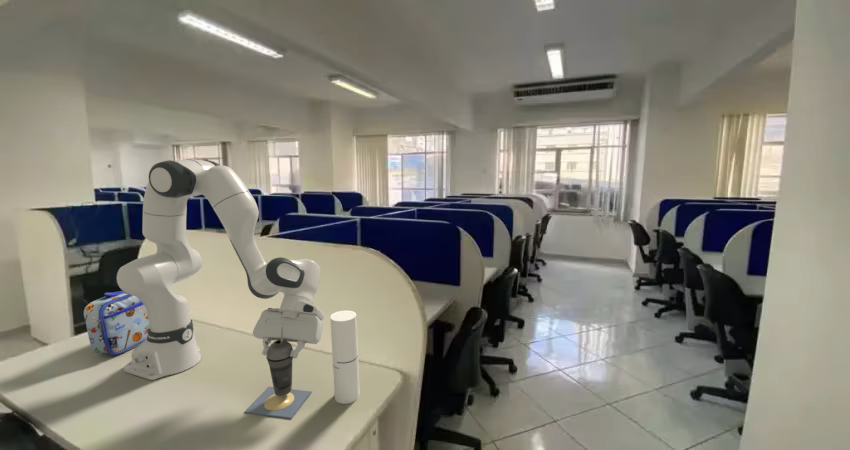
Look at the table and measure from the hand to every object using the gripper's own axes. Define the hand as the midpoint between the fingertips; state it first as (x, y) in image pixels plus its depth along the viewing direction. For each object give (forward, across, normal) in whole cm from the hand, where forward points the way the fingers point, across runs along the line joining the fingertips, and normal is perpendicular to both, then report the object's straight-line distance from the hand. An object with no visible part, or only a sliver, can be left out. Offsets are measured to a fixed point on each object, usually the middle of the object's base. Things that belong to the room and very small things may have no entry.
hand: (279, 356), depth 100 cm
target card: (+11, 0, +8) cm, 13 cm away
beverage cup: (+8, 0, +9) cm, 12 cm away
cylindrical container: (+6, +18, +12) cm, 23 cm away
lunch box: (-5, -74, +24) cm, 78 cm away
